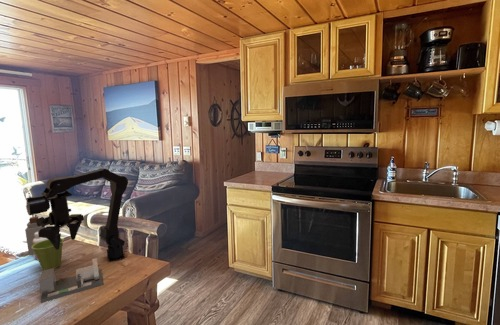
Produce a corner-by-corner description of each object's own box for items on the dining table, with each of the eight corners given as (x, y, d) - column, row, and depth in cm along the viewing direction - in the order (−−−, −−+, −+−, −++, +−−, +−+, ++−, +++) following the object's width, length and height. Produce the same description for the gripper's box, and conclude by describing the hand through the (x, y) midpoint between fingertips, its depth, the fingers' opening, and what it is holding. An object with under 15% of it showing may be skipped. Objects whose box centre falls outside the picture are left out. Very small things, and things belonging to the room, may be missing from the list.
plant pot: (61, 258, 135) (58, 235, 134) (71, 265, 128) (67, 241, 126) (31, 268, 126) (28, 244, 125) (39, 276, 119) (35, 251, 117)
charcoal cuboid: (80, 283, 108) (79, 278, 108) (80, 286, 107) (79, 280, 106) (77, 284, 108) (76, 278, 108) (77, 287, 106) (76, 281, 106)
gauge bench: (101, 271, 121) (99, 255, 120) (103, 284, 110) (101, 267, 110) (44, 287, 111) (41, 269, 110) (40, 302, 100) (38, 284, 99)
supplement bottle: (35, 257, 138) (31, 232, 136) (52, 253, 142) (48, 228, 140) (35, 262, 132) (31, 236, 131) (52, 257, 136) (48, 232, 135)
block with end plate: (98, 270, 119) (96, 258, 118) (99, 280, 111) (98, 267, 110) (77, 275, 115) (75, 263, 114) (77, 287, 107) (75, 273, 106)
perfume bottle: (29, 255, 140) (23, 220, 137) (32, 250, 145) (27, 217, 143) (45, 252, 143) (40, 218, 140) (47, 247, 149) (43, 214, 146)
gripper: (58, 202, 125) (63, 235, 127) (21, 216, 106) (28, 255, 109) (82, 201, 124) (87, 235, 126) (49, 215, 106) (55, 254, 108)
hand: (65, 244), depth 117 cm, fingers open, 9 cm apart
